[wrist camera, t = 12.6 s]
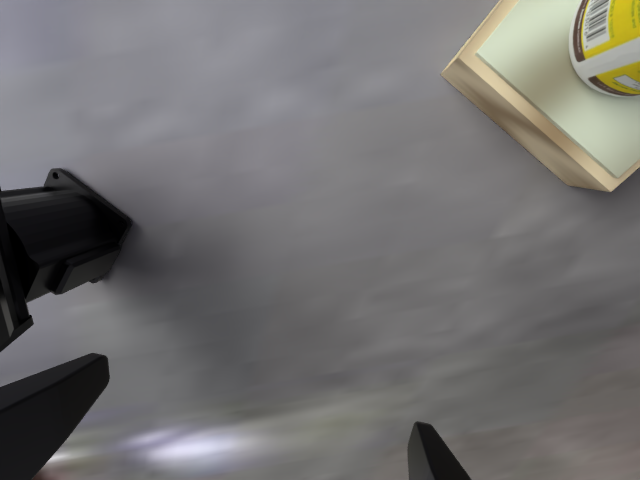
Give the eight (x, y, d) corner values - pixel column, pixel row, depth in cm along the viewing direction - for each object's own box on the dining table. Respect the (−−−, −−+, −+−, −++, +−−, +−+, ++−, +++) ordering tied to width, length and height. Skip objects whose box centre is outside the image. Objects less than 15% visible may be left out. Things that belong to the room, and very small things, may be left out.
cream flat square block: (440, 74, 17) (460, 55, 13) (595, -119, 14) (670, -205, 11) (567, 185, 18) (615, 192, 14) (740, 24, 15) (853, -14, 11)
